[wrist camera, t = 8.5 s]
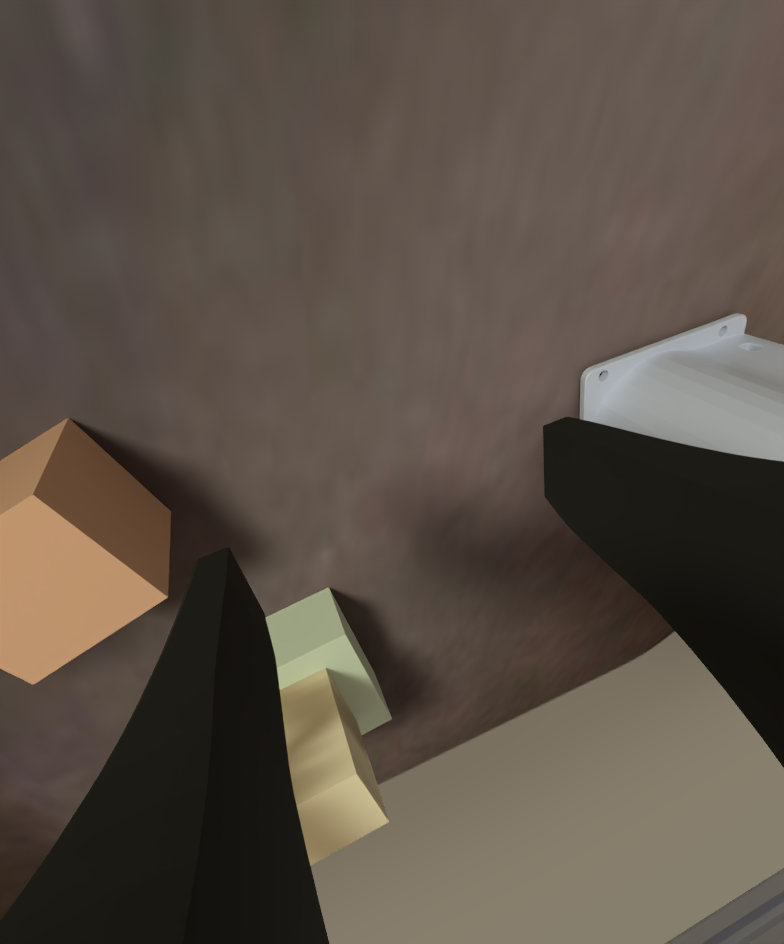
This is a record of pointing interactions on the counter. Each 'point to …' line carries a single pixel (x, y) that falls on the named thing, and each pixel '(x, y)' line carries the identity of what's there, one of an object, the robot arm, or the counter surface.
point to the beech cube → (328, 767)
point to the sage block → (326, 655)
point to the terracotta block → (73, 550)
